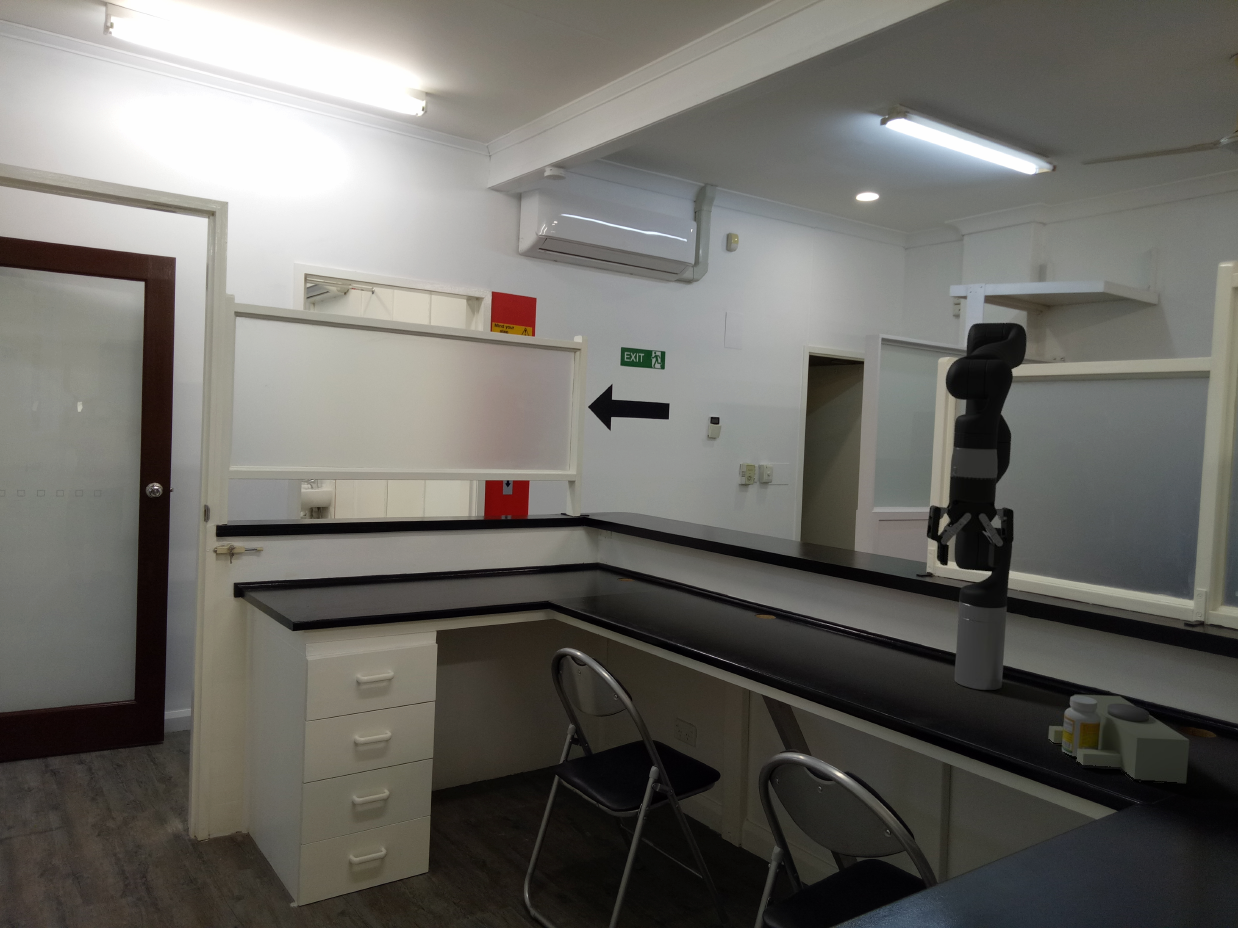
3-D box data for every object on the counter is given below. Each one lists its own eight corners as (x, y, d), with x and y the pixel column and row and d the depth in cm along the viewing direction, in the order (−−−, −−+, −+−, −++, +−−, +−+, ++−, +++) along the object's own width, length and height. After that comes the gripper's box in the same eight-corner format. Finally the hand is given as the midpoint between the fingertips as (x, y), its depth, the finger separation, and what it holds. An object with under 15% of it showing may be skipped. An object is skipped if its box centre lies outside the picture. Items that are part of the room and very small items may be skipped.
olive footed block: (1038, 730, 155) (1040, 687, 155) (1116, 733, 155) (1120, 690, 154) (1095, 779, 135) (1098, 729, 135) (1185, 783, 135) (1189, 733, 134)
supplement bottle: (1057, 754, 145) (1061, 698, 144) (1067, 745, 149) (1070, 691, 148) (1092, 764, 141) (1096, 707, 140) (1101, 755, 145) (1105, 699, 144)
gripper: (1005, 473, 154) (1000, 563, 155) (925, 471, 154) (920, 560, 156) (1023, 477, 146) (1017, 571, 148) (939, 474, 147) (934, 568, 148)
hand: (967, 565), depth 152 cm, fingers open, 8 cm apart
